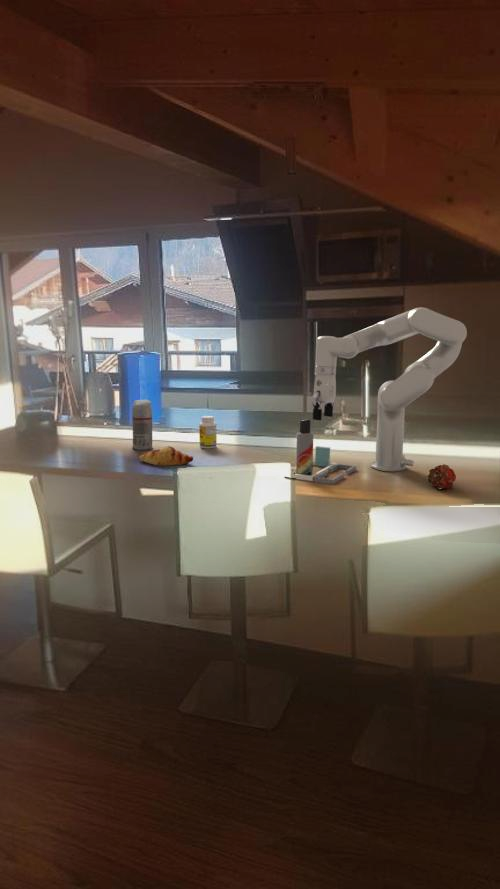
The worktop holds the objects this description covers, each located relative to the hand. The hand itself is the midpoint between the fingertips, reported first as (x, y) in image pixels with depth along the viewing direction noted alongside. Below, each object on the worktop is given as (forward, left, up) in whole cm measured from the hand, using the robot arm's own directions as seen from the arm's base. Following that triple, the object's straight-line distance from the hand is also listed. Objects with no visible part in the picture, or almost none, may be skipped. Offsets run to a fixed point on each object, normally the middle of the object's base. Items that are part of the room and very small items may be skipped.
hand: (322, 418), depth 245 cm
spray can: (+75, +9, -18) cm, 78 cm away
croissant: (+52, +25, -18) cm, 61 cm away
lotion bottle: (-1, +18, -18) cm, 25 cm away
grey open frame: (-10, +12, -18) cm, 23 cm away
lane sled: (-1, +12, -18) cm, 21 cm away
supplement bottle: (+53, -6, -18) cm, 57 cm away
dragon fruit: (-46, +10, -18) cm, 50 cm away
